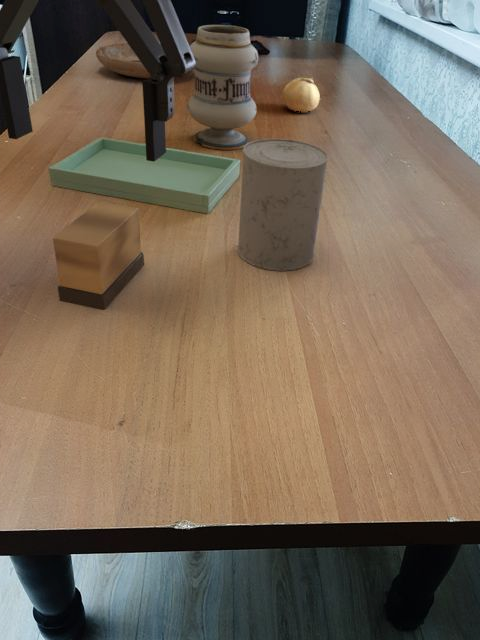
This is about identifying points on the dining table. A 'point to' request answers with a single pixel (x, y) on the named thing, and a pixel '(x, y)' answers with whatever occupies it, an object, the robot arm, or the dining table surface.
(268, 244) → the grey cylinder
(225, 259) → the dining table surface
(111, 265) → the eraser
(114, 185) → the tray
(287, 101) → the onion
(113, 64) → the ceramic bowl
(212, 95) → the apothecary jar
